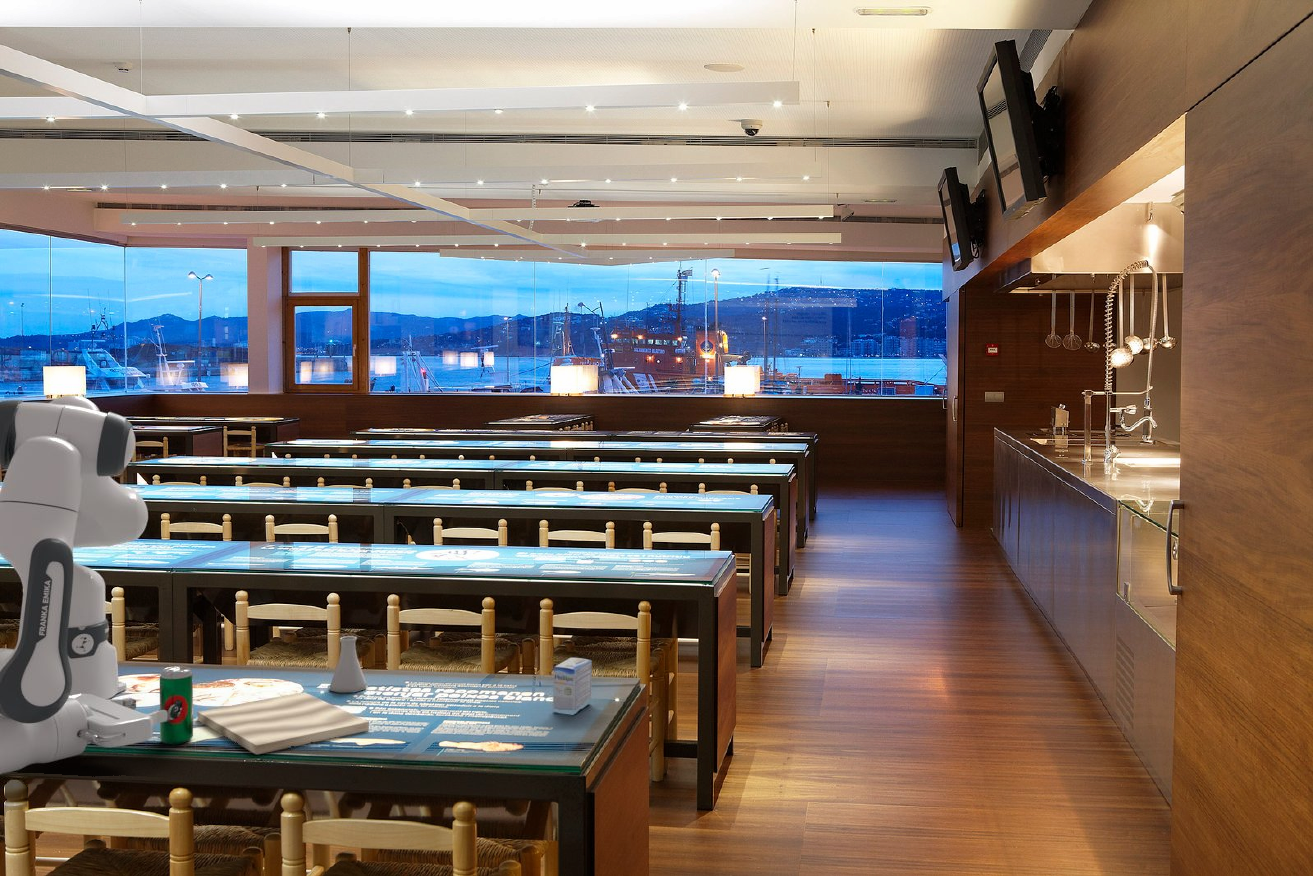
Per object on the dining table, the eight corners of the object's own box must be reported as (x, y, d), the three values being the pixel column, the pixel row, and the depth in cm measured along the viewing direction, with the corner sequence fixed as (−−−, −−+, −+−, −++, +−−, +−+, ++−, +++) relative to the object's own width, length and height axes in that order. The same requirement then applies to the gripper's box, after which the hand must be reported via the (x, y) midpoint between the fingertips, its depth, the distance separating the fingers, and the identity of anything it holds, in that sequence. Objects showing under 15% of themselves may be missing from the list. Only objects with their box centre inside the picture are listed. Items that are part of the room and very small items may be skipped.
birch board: (197, 720, 207) (197, 711, 207) (304, 700, 221) (304, 692, 221) (256, 754, 190) (256, 745, 189) (368, 730, 203) (368, 721, 203)
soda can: (199, 739, 196) (199, 668, 196) (172, 747, 192) (171, 674, 192) (180, 734, 199) (180, 663, 199) (153, 741, 195) (153, 670, 194)
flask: (357, 695, 225) (357, 643, 224) (321, 692, 226) (321, 640, 226) (373, 685, 232) (373, 635, 231) (339, 682, 233) (339, 632, 233)
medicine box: (569, 702, 222) (570, 656, 222) (591, 705, 221) (592, 659, 221) (552, 713, 215) (552, 666, 215) (574, 716, 214) (575, 669, 213)
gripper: (97, 721, 174) (184, 701, 185) (32, 696, 187) (117, 678, 198) (98, 763, 175) (184, 741, 186) (32, 735, 187) (117, 715, 198)
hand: (149, 708), depth 192 cm, fingers open, 8 cm apart
